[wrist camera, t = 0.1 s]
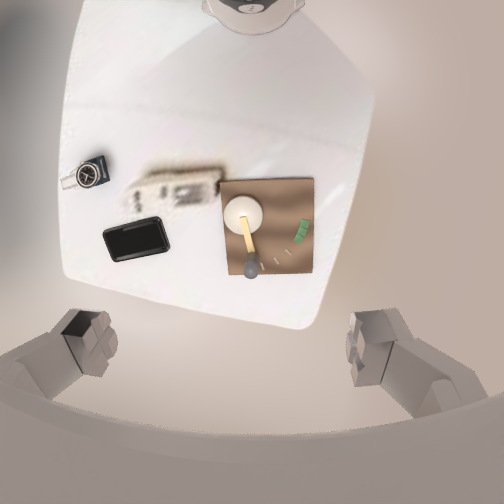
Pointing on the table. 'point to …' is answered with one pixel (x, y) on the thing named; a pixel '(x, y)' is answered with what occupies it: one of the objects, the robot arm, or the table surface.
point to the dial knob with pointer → (245, 227)
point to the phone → (136, 239)
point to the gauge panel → (274, 225)
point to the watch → (87, 175)
